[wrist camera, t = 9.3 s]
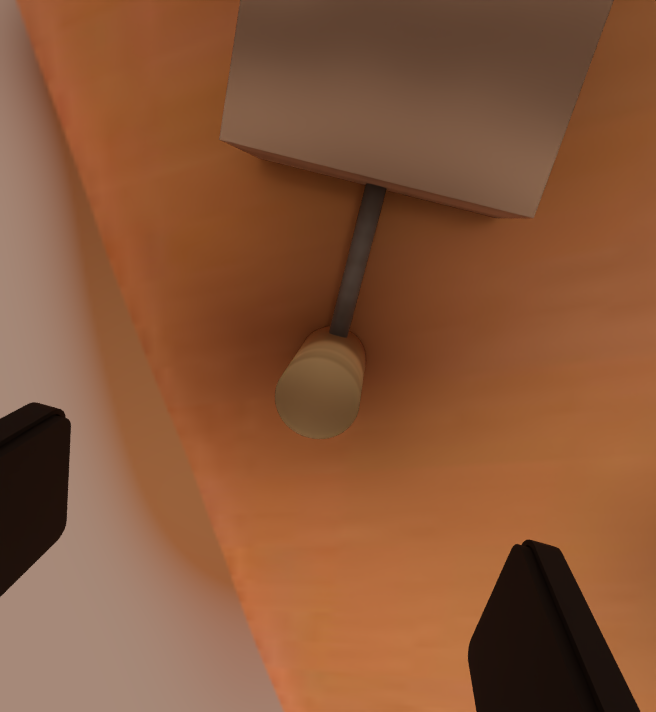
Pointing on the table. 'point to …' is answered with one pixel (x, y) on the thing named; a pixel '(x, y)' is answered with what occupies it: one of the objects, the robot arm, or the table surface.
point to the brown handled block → (402, 128)
